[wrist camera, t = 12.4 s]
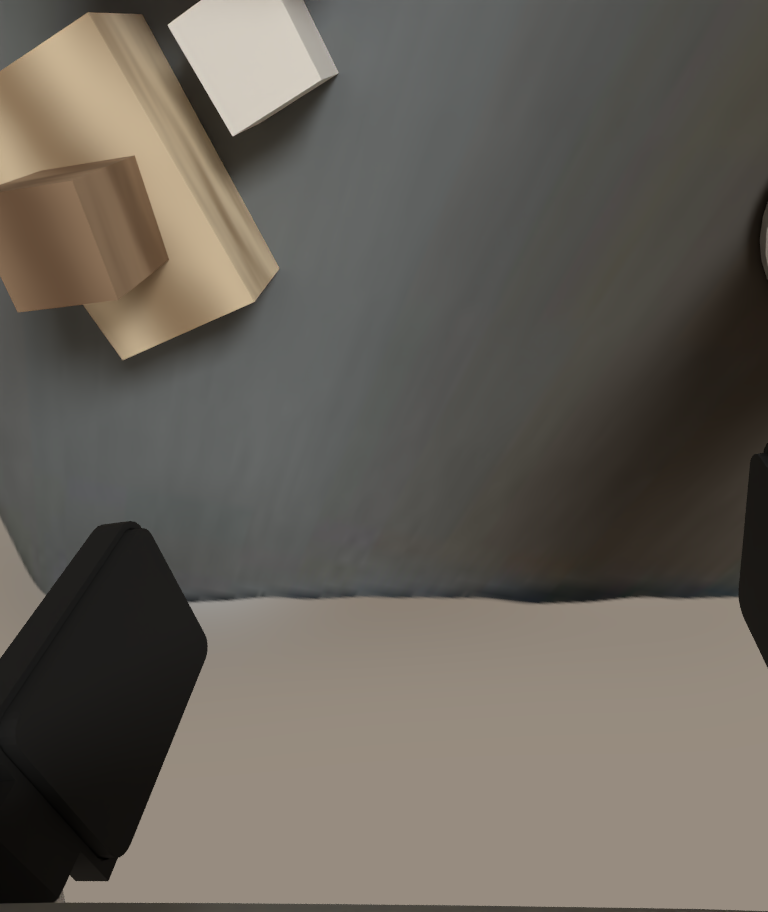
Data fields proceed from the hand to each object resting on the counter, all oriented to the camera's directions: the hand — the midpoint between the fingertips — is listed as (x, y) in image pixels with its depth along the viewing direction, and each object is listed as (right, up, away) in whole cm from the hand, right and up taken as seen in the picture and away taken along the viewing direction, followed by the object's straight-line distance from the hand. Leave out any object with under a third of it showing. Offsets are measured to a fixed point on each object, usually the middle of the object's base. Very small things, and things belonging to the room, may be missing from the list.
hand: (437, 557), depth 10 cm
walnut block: (-15, +14, +22) cm, 30 cm away
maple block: (-14, +17, +27) cm, 35 cm away
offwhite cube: (-7, +22, +23) cm, 32 cm away
